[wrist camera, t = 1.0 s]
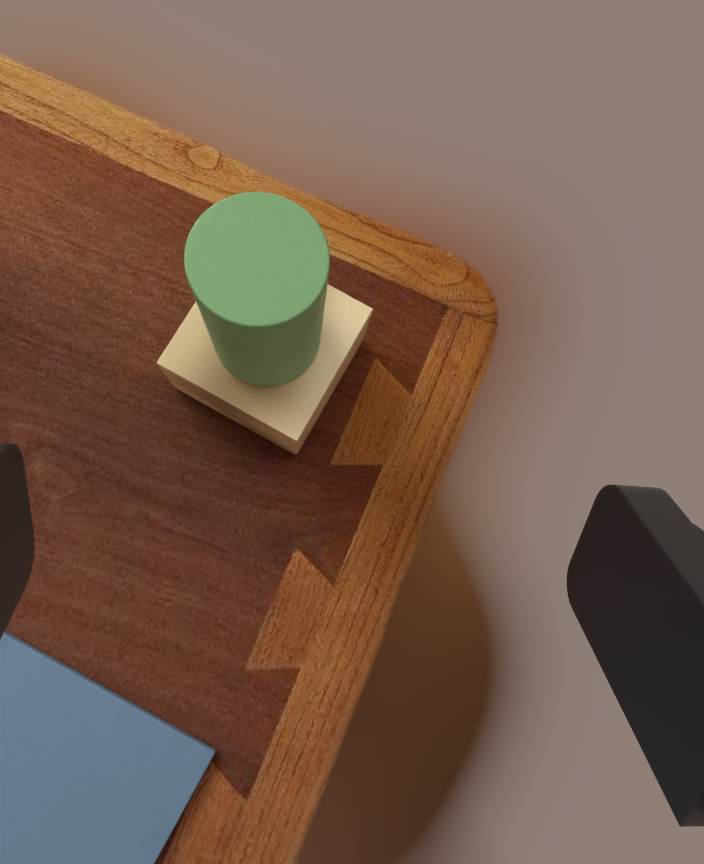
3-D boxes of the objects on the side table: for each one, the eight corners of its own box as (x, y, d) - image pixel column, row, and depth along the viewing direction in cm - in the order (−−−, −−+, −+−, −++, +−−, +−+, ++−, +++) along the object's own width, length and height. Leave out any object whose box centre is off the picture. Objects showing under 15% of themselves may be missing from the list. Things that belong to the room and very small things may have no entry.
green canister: (339, 317, 34) (355, 234, 25) (287, 406, 33) (284, 353, 24) (248, 266, 34) (231, 166, 25) (192, 353, 33) (155, 280, 24)
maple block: (363, 339, 39) (373, 308, 34) (296, 455, 37) (297, 441, 32) (245, 274, 39) (238, 234, 34) (174, 387, 37) (156, 362, 32)
